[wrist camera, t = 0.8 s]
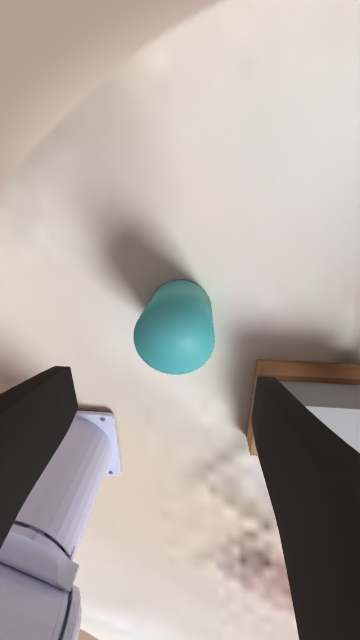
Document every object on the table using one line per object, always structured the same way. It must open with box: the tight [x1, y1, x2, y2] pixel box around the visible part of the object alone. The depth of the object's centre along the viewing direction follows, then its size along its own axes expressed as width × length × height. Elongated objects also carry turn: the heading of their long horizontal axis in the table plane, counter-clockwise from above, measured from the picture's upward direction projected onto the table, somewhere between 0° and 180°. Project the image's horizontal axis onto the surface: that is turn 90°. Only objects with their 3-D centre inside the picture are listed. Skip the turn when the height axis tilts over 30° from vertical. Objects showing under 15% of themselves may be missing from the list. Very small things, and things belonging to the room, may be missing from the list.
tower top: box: [279, 381, 360, 453], centre depth 17 cm, size 6×6×2 cm
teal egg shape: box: [134, 279, 215, 374], centre depth 16 cm, size 4×4×5 cm
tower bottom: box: [246, 360, 360, 456], centre depth 20 cm, size 8×8×2 cm
